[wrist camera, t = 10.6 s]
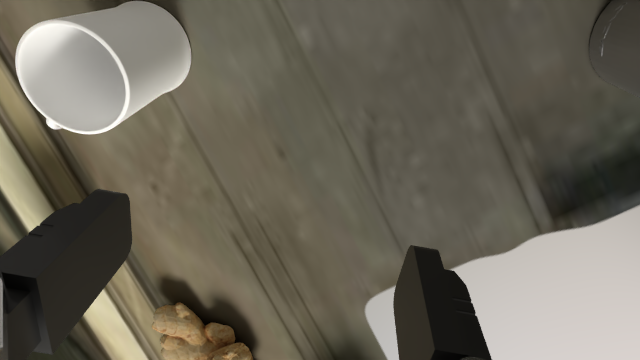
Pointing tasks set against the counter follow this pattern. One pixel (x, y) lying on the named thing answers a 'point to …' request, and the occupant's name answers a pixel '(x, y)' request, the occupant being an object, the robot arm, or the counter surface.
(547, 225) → the counter surface
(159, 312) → the ginger root
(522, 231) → the counter surface
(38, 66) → the mug
